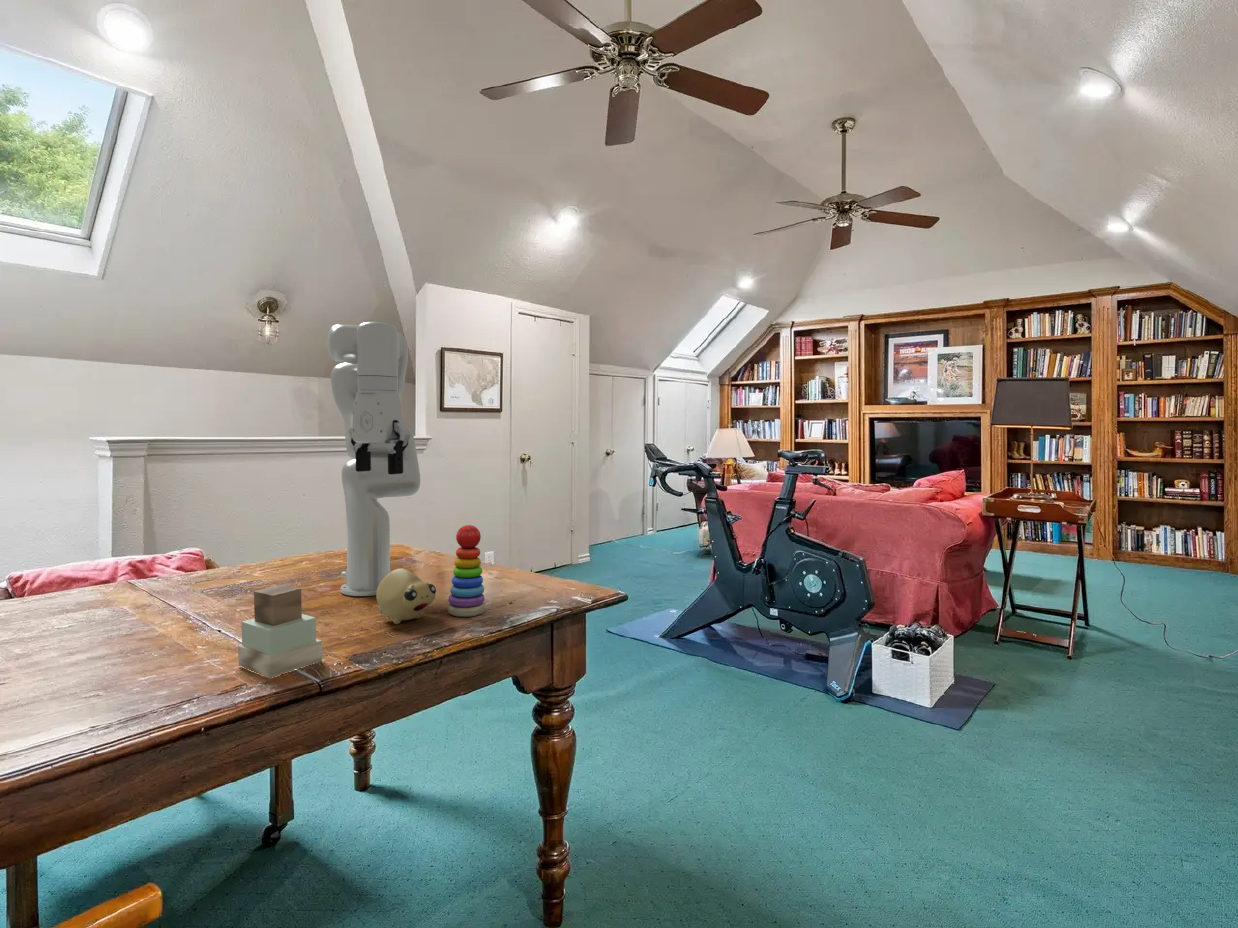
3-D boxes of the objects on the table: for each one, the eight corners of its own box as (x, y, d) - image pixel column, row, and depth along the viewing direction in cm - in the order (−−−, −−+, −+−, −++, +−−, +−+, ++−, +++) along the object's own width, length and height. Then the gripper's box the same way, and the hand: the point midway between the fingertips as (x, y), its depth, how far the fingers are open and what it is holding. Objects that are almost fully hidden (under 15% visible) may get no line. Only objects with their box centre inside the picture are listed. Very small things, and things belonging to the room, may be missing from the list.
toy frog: (404, 633, 125) (404, 578, 124) (367, 621, 132) (366, 569, 131) (445, 620, 133) (444, 569, 132) (407, 609, 140) (407, 561, 139)
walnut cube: (254, 621, 107) (253, 591, 107) (282, 613, 112) (281, 584, 111) (273, 625, 105) (273, 595, 104) (301, 617, 109) (301, 588, 109)
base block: (238, 669, 107) (238, 645, 107) (290, 652, 115) (290, 630, 115) (270, 681, 103) (269, 656, 102) (322, 663, 110) (321, 640, 110)
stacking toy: (476, 619, 134) (476, 529, 133) (440, 616, 136) (440, 527, 134) (491, 608, 142) (491, 523, 140) (457, 605, 143) (457, 521, 142)
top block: (242, 645, 107) (241, 621, 107) (288, 632, 114) (288, 609, 114) (269, 655, 103) (269, 630, 103) (316, 640, 110) (315, 617, 109)
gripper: (333, 386, 130) (335, 471, 131) (391, 384, 121) (392, 476, 122) (365, 387, 136) (367, 469, 137) (423, 386, 127) (423, 473, 128)
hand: (379, 472), depth 130 cm, fingers open, 9 cm apart
